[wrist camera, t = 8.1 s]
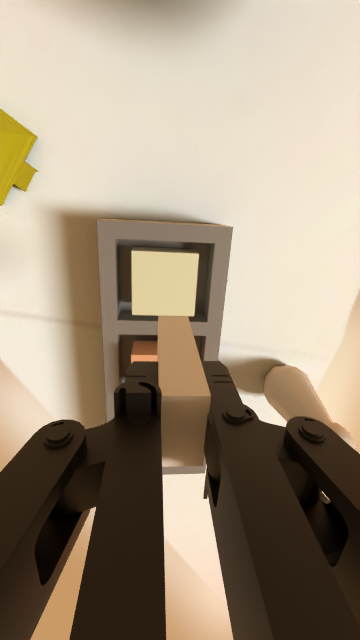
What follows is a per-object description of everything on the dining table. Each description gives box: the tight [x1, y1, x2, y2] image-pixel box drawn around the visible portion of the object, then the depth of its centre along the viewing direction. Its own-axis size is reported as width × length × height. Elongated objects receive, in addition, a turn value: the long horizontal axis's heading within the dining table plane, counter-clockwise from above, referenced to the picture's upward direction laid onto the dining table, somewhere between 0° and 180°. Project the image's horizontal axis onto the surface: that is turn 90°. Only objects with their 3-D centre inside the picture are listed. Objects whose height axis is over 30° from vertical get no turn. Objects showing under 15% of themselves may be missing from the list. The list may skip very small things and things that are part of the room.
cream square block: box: [131, 247, 199, 316], centre depth 27 cm, size 6×6×3 cm
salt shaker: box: [264, 365, 356, 450], centre depth 32 cm, size 6×6×13 cm
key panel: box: [97, 219, 233, 475], centre depth 32 cm, size 30×12×5 cm, turn 177°
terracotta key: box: [131, 341, 158, 364], centre depth 30 cm, size 6×6×3 cm
